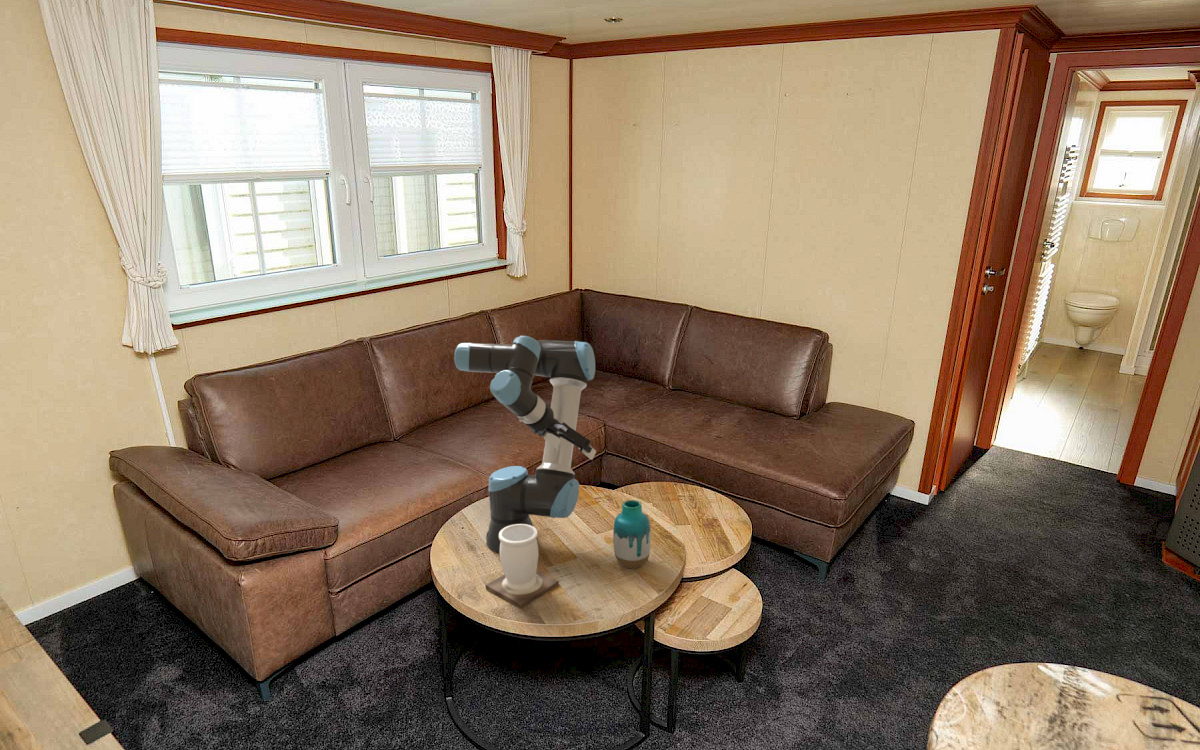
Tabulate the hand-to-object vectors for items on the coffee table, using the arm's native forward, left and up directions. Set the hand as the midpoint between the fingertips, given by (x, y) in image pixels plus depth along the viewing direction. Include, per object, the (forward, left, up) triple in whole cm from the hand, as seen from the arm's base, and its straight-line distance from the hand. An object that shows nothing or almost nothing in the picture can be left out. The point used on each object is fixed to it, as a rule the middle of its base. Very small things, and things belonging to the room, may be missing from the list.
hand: (575, 449), depth 194 cm
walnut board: (-1, -21, -34) cm, 40 cm away
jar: (-1, -21, -33) cm, 39 cm away
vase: (+15, +7, -34) cm, 38 cm away
